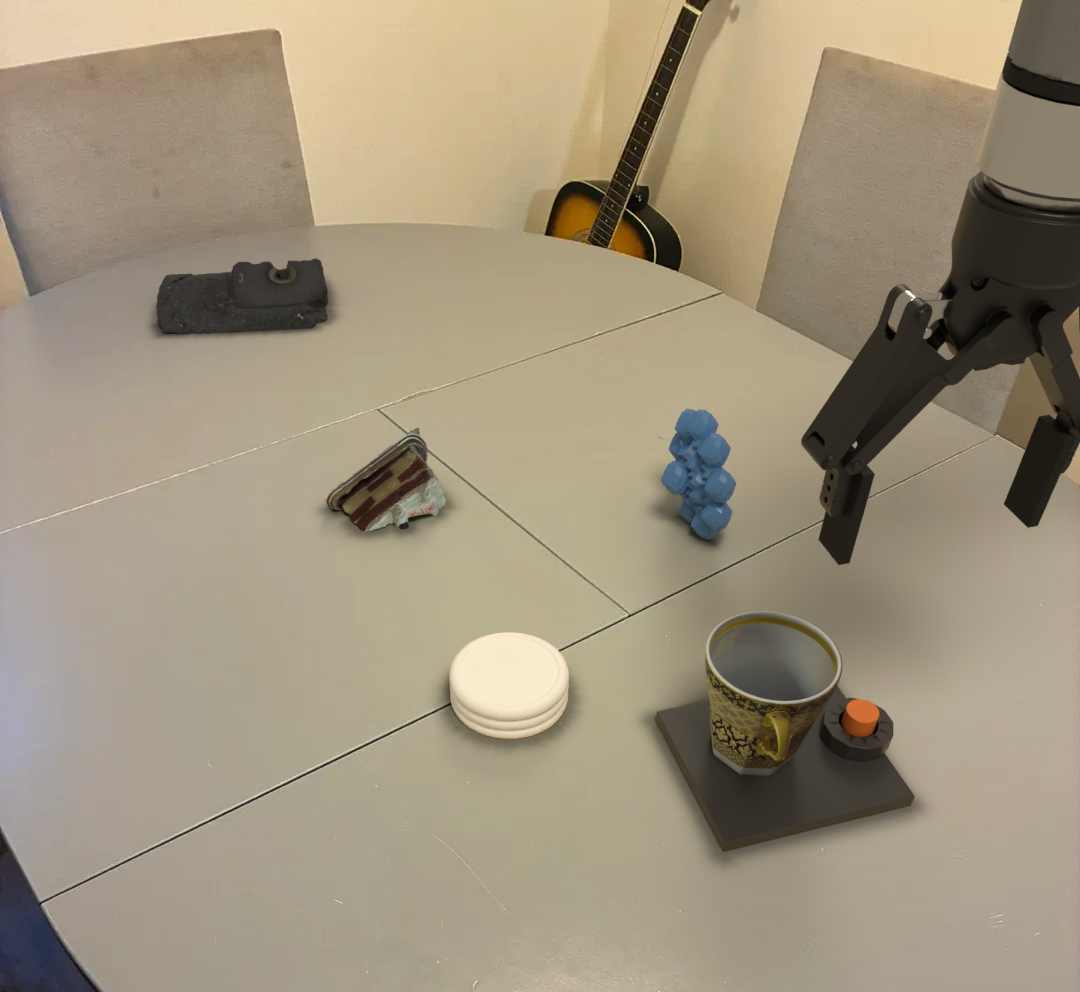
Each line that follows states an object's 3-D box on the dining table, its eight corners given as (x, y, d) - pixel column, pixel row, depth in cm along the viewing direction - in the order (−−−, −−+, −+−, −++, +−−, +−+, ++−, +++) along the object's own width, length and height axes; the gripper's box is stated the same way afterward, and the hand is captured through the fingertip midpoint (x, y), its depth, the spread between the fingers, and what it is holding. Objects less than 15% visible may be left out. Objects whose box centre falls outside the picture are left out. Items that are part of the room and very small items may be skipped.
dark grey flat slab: (839, 682, 90) (847, 658, 88) (924, 804, 81) (935, 779, 79) (654, 722, 86) (658, 697, 84) (722, 854, 77) (728, 830, 75)
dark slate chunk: (164, 285, 140) (155, 250, 136) (328, 277, 143) (324, 242, 139) (154, 339, 130) (144, 302, 126) (330, 329, 132) (325, 292, 129)
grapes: (632, 498, 108) (643, 394, 100) (691, 487, 110) (707, 384, 101) (677, 564, 101) (693, 458, 92) (739, 552, 102) (761, 446, 94)
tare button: (864, 711, 84) (869, 696, 83) (880, 733, 82) (885, 718, 81) (835, 717, 84) (840, 702, 82) (851, 740, 82) (856, 725, 81)
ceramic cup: (685, 698, 86) (700, 607, 79) (804, 702, 86) (831, 612, 79) (696, 821, 78) (714, 732, 70) (829, 826, 77) (861, 737, 70)
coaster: (440, 734, 85) (437, 705, 82) (462, 652, 92) (461, 623, 89) (560, 748, 84) (561, 719, 82) (574, 664, 91) (575, 635, 88)
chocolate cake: (352, 554, 102) (433, 466, 98) (317, 503, 104) (395, 416, 100) (408, 569, 110) (484, 489, 106) (374, 522, 112) (448, 442, 108)
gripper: (1206, 132, 56) (1059, 470, 71) (786, 180, 51) (726, 532, 66) (1314, 182, 51) (1131, 533, 66) (861, 241, 46) (777, 605, 61)
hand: (928, 533), depth 66 cm, fingers open, 13 cm apart
